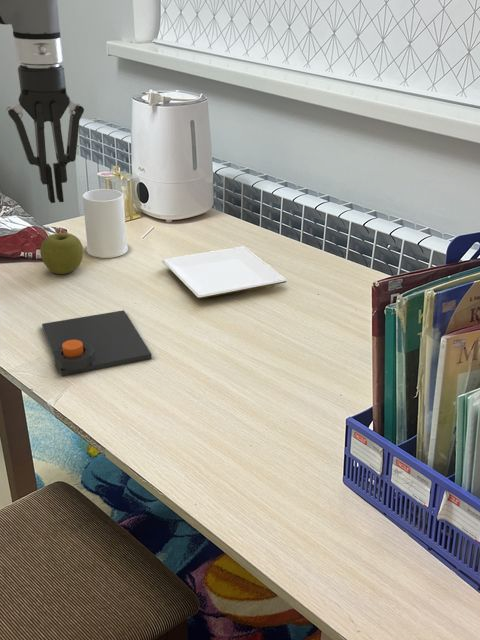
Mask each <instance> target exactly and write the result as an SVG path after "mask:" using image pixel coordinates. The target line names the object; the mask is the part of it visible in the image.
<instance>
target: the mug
mask: <svg viewBox="0 0 480 640" xmlns="http://www.w3.org/2000/svg"><path fill="white" fill-rule="evenodd" d="M82 205H83V214H84V224H85V225H84V226H85V233H86V235H85V236H86V253H87V254H88V255H89V256H92V257H94V258H101V259H110V258H117V257H120V256H123V255H125V254H126V253H127V252H128V251H129V246H128V244H127V230H126V215H125V214H126V213H125V199H124V193H123V192H122V191H119V190H117V189H112V188H98V189H97V188H96V189H91V190H88V191H86V192H83V194H82Z"/></svg>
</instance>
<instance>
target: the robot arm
mask: <svg viewBox="0 0 480 640" xmlns="http://www.w3.org/2000/svg"><path fill="white" fill-rule="evenodd" d="M58 3H59V2H58V0H0V25H5V26H6V25H11V28H12V35H13V42H14V50H15V58H16V62H17V63H18V64H19V65H18V67H17V74H18V82H19V88H20V89H19V90H20V94H19V96H18V102H17V103H15V104H14V105H13V106H7V108H6V113H7V114H8V116H9V117H10V119H11V120H12V121H13V123H14V126H15V129H16V132H17V135H18V137H19V140H20V143H21V147H22V149H23V153H24V155H25V157H26V160H27V161H28V163H29V164H30V166H31V165H32V166H37V167H38V173H39V174H38V175H39V180H40V183H41V184H42V185H46V189H47V190H46V191H47V198H48V199H47V200H49V203H50V204H55V203H56V199H57V201H58V202H59V203H64V201H65V200H64V192H63V184H64V183H67V182H68V174H67V165H68V164H69V163H71V162H72V163H73V162H75V161H76V158H77V150H78V149H77V148H78V139H79V130H80V120H81V118H82V116H83V115H84V112H85V108H84V107H83V106H82V105H81V104H80V103H76V102H74V101H72V100H71V98H70V96H69V94H68V91H67V86H66V75H65V67H63V65H61V64H62V63H63V62H64V57H63V47H62V37H61V28H60V15H59V5H58ZM67 109H68V113H69V114H70V115H69V122H68V131H67V140H66V141H67V142H66V152H65V148H64V141H63V133H62V124H61V123H62V122H61V119H62V117H63V116H64V114H65V113H66V110H67ZM23 110H24V111H25V113H27V115H29V117H30V118H31V119H32V120H33V125H34V134H35V135H34V136H35V148H36V156H35V154H34V151H33V149H32V144H31V143H30V140H29V137H28V133H27V131H26V130H27V129H26V128H25V125H24V121H23V120H22V118H23V116H24V114H23ZM47 122H49V123H50V126H51V133H52V138H53V139H52V140H53V145H54V151H55V157H56V161H57V162H53V163H52V166H51V165H50V163H48V162H47V151H46V137H45V123H47ZM52 168H53V170H52ZM53 175H54V179H53ZM54 184H55V185H54ZM54 186H55V188H54ZM55 194H56V195H55Z"/></svg>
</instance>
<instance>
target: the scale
mask: <svg viewBox="0 0 480 640" xmlns="http://www.w3.org/2000/svg"><path fill="white" fill-rule="evenodd" d="M41 327H42V331H43V333H44V336H45V338H46V342H47V343H48V346H49V348H50V351H51V354H52V361H53V363H54V365H55V367H56V368H58V371H59V373H60V376H61V377H65V376H70V375H75V374H79V373H85V372H90V371H94V370H95V371H96V370H100V369H106V368H112V367H115V366H120V365H125V364H126V365H127V364H131V363H136V362H141V361H146V360H152V352H151V351H150V350H149V347H148V346H147V344H146V343H145V341H144V340H143V338H142V337H141V335H140V333H139V332H138V330H137V328H136V327H135V326H134V323H133V322H132V321H131V318H129V316H128V314H127V312H126V311H125V310H124V309H123V310H117V311H110V312H105V313H99V314H92V315H87V316H80V317H75V318H69V319H63V320H56V321H50V322H44V323H41ZM68 340H79V341H81V342H82V343H83V354H82V355H80V356H77V357H65V356H64V355H63V348H62V344H63V343H64V342H66V341H68Z"/></svg>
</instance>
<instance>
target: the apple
mask: <svg viewBox="0 0 480 640" xmlns="http://www.w3.org/2000/svg"><path fill="white" fill-rule="evenodd" d="M39 252H40V257H41V261H42V263H43V264H44V266H45V267H46V268H47V269H48V270H49V271H50V272H52V273H53V274H56V275H66V274H69V273H72V272H74V271H76V269H78V267H80V265H81V263H82V261H83V258H84V247H83V244H82V241H81V240H80V239H79V238H78V236H76V235H74V234H72V233H69V232H57V233H52V234H50V235H48V236H47V237H46V238H44V240H43V241H42V242H41V245H40V251H39Z"/></svg>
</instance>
